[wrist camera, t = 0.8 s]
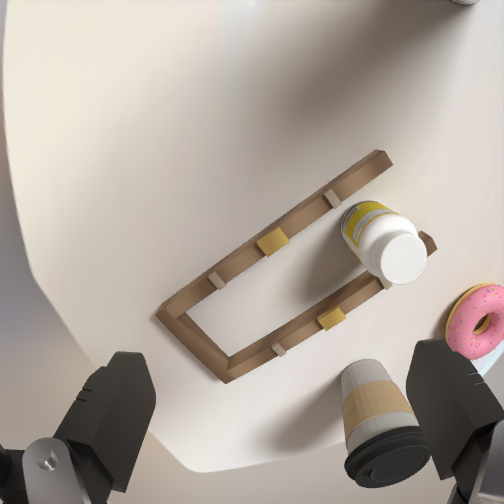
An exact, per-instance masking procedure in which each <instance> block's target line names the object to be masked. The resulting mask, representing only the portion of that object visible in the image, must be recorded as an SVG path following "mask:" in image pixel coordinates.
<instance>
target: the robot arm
mask: <svg viewBox="0 0 504 504" xmlns="http://www.w3.org/2000/svg"><path fill="white" fill-rule="evenodd" d="M452 1H453V2H456V3H459V4H464V5H469V4H473V3H475V2H477V1H479V0H452ZM406 394H407V398H408V400H409V403H410V405H411V407H412V410H413V412H414V414H415V417H416V419H417V421H418V424H419V426H420V429H421V431H422V433H423V436H424V438H425V441H426V443H427V446H428V448H429V451H430V453H431V456H432V459H433V461H434V464H435V466H436V469H437V472H438V474H439V477H440V480H444V479H447V478H450V477H453V476H455V479H456V482H457V483H456V484H455V485H454V487H453V490H452V492H451V495H450V498H449V500H448V502H447V504H504V410H503V409H502V407H501V405H500V403H499V402H498V400H497V399H496V397H495V396H494V394H493V393H492V392H491V390H490V388H489V387H488V386H487V384H486V383H484V380H483V378H482V377H481V375H480V374H478V371H477V370H476V368H475V367H474V365H473V364H472V363H471V361H470V360H469V359H467V358H466V357H465V356H463V355H462V354H460V353H459V352H458V351H454V352H453V351H452V349H451V348H450V347H449V345H448V344H447V343H446V341H445V340H444V339H443V338H441V337H440V338H434V339H427V340H421V341H418V342H417V344H416V346H415V349H414V353H413V357H412V361H411V365H410V369H409V372H408V376H407V379H406ZM155 404H156V393H155V389H154V386H153V383H152V380H151V377H150V374H149V371H148V368H147V365H146V361H145V358H144V356H143V355H142V354H141V353H136V352H120V351H118V352H116V353H115V354H114V355H113V357H112V359H111V360H110V362H109V363H108V365H107V367H104V366H102V367H100V368H99V369H98V370H97V371H96V372H94V373H93V374H92V375H91V376H90V377H89V378H88V380H87V381H86V383H85V385H84V386H83V388H82V391H80V392H79V394H78V396H77V397H76V401H74V402H73V404H72V406H71V407H70V409H69V410H68V412H67V414H66V415H65V417H64V419H63V421H62V422H61V424H60V426H59V427H58V429H57V431H56V433H55V434H54V436H53V437H52V438H42V439H39V440H36V441H35V442H33V443H32V444H31V445H29V446H28V447H27V449H26V450H8V449H4V448H3V447H2V446H1V445H0V499H1V500H2V501H3V504H111V502H110V500H109V499H108V497H109V494H110V492H111V490H115V491H119V492H123V493H125V492H126V489H127V486H128V483H129V480H130V477H131V474H132V471H133V468H134V465H135V462H136V460H137V457H138V454H139V450H140V448H141V445H142V442H143V440H144V437H145V434H146V431H147V428H148V426H149V423H150V420H151V417H152V415H153V412H154V409H155Z"/></svg>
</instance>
